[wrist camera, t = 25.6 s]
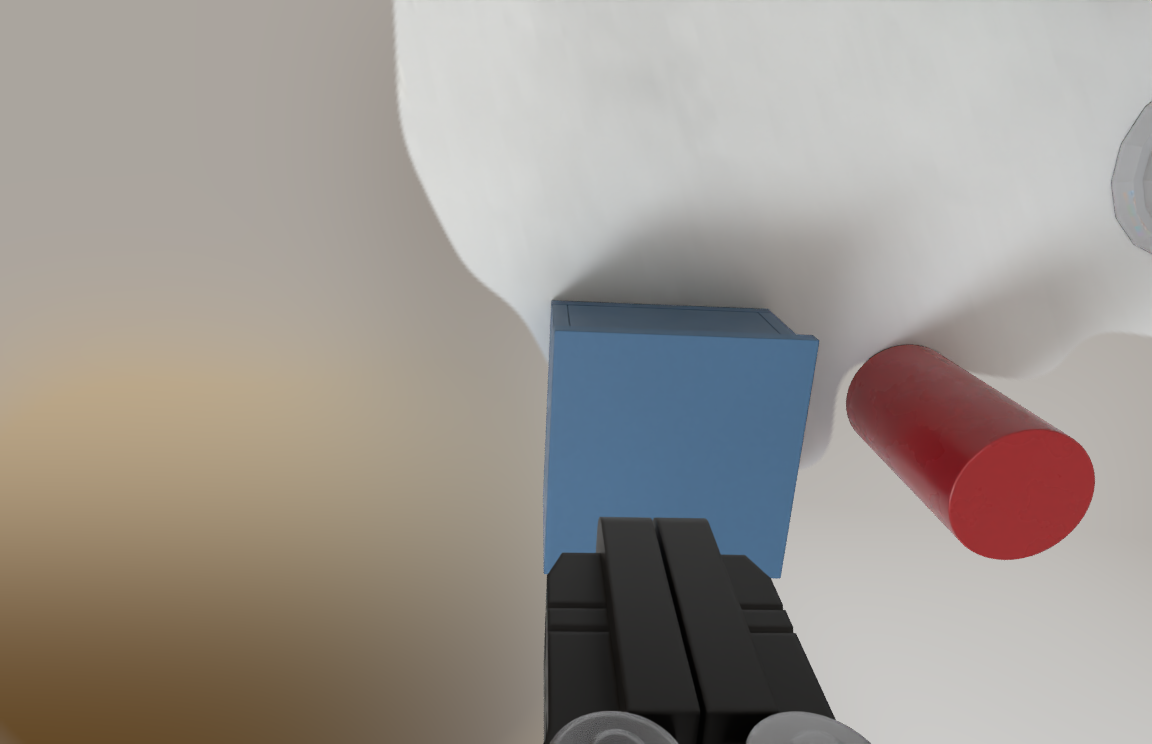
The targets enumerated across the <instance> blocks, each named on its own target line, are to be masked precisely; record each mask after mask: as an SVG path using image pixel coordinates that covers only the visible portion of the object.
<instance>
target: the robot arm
mask: <svg viewBox="0 0 1152 744" xmlns="http://www.w3.org/2000/svg"><path fill="white" fill-rule="evenodd" d="M546 592H547V593H546V618H545V646H544V744H871V743H870V742H869V741H867V740H866V739H865V738H864V737H863V736H861V735H860V734H859V733H857V732H856V731H854V730H853V729H852V728H850V727H848V726H846V725H844V724H843V723H841V722H839V721H836V719H835V717H834V715H833V713H832V711H831V709H830V707H829V704H828V702H827V700H826V698H825V696H824V693H823V691H822V689H821V687H820V685H819V683H818V680H817V678H816V676H815V674H814V672H813V669H812V667H811V665H810V663H809V661H808V659H807V656H806V654H805V652H804V650H803V648H802V646H801V643H800V641H799V639H798V637H797V635H796V634H795V633H793V626H792V624H791V622H790V619H789V617H788V615H787V613H786V611H785V610H783V605H782V602H781V600H780V598H779V596H778V593H777V591H776V589H775V587H774V585H773V582H772V580H771V578H770V577H769V576H768V575H767V574H766V573H764V572H763V571H762V570H761V569H760V568H759V567H758V566H757V565H756V564H755V563H753V562H752V561H751V560H750V559H749V558H748V557H747V556H746V555H721V554H720V551H719V548H718V546H717V543H716V540H715V538H714V535H713V532H712V530H711V527H710V525H709V522H708V520H707V519H705V518H654V519H653V521H652V519H651V518H643V517H599V520H598V526H597V540H596V553H561V555H560V557H559V558H558V560H557V561H556V563H555V564H554V566H553V567H552V569H551V570H550V572H549V573H548V575H547V590H546Z"/></svg>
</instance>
